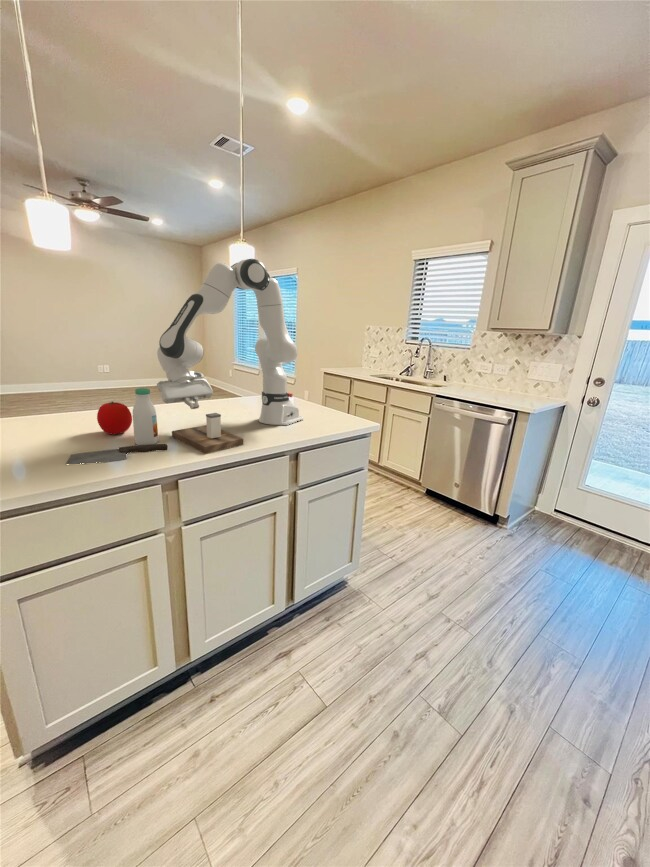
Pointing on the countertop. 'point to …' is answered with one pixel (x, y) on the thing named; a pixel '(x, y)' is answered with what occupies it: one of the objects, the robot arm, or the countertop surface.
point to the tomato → (114, 418)
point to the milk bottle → (144, 419)
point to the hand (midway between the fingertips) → (195, 408)
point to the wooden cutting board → (206, 439)
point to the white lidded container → (213, 425)
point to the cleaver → (112, 454)
